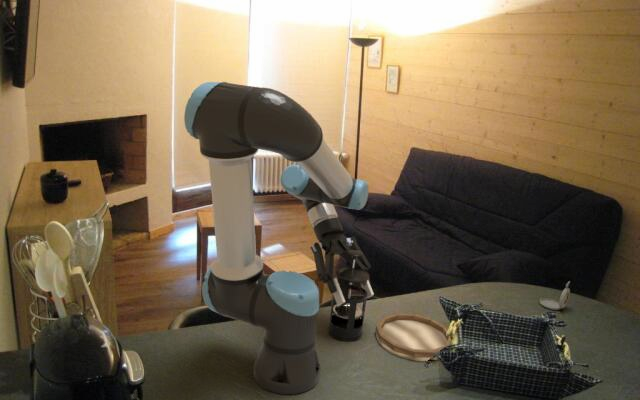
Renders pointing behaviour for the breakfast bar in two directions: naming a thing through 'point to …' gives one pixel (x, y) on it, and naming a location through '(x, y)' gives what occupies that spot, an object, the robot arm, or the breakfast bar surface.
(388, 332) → the ring trivet
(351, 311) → the french press
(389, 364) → the breakfast bar surface
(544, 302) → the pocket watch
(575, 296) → the breakfast bar surface
